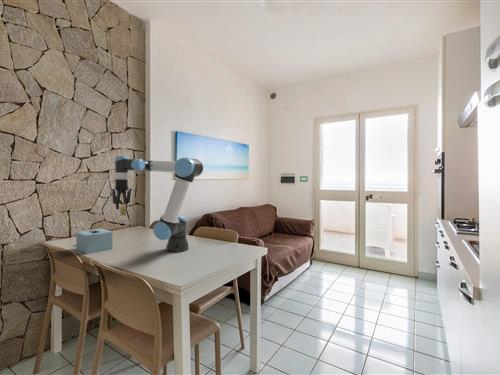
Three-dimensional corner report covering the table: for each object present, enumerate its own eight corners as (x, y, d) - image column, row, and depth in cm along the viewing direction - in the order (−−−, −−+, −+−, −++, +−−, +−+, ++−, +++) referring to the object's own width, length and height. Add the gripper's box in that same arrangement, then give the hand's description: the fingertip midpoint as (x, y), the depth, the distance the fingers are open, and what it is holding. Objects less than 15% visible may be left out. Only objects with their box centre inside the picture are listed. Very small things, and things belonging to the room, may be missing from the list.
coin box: (112, 248, 178) (112, 231, 177) (86, 254, 165) (86, 235, 164) (101, 244, 187) (101, 228, 187) (76, 249, 174) (76, 231, 174)
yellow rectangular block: (125, 214, 175) (125, 205, 174) (121, 215, 172) (121, 206, 172) (121, 213, 178) (121, 205, 178) (116, 214, 176) (116, 205, 176)
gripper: (130, 179, 183) (130, 212, 184) (106, 178, 170) (106, 214, 171) (135, 179, 178) (135, 213, 179) (112, 179, 165) (112, 215, 166)
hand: (121, 213), depth 175 cm, fingers closed on yellow rectangular block, 3 cm apart
